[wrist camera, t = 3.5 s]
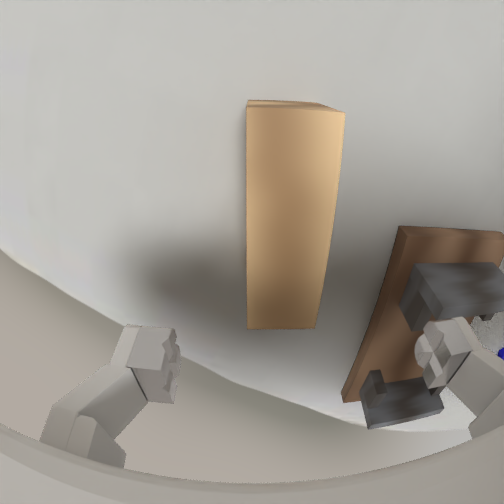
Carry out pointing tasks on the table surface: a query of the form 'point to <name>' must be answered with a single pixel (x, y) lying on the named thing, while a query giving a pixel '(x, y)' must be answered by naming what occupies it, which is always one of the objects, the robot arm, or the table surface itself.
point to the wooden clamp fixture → (422, 316)
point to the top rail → (289, 208)
